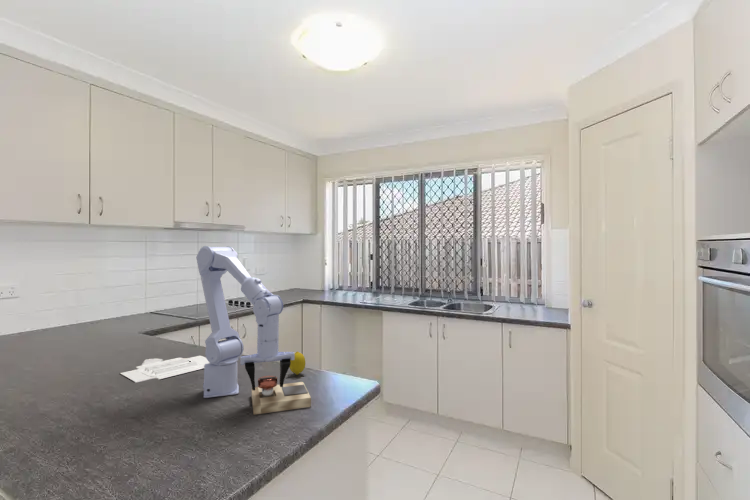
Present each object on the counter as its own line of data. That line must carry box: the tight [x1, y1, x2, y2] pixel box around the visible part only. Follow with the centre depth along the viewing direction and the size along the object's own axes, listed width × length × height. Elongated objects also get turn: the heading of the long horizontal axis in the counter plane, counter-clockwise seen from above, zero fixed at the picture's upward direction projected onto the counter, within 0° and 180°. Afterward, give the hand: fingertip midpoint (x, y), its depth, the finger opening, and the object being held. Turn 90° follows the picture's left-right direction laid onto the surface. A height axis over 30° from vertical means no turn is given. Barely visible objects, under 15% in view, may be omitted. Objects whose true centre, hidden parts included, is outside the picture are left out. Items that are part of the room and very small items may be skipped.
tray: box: [119, 355, 209, 384], centre depth 134 cm, size 20×28×4 cm
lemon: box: [289, 351, 306, 376], centre depth 128 cm, size 6×6×8 cm
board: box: [251, 381, 312, 416], centre depth 105 cm, size 15×13×3 cm
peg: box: [257, 375, 278, 398], centre depth 104 cm, size 5×5×7 cm
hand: (267, 387), depth 104 cm, fingers open, 7 cm apart
